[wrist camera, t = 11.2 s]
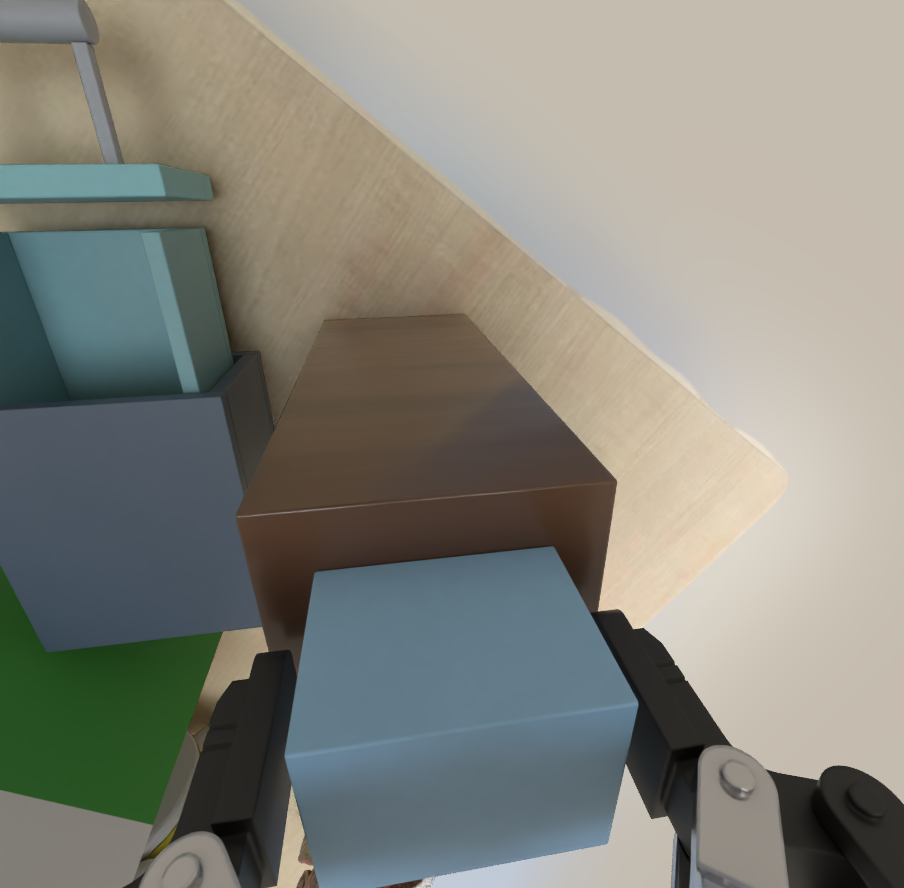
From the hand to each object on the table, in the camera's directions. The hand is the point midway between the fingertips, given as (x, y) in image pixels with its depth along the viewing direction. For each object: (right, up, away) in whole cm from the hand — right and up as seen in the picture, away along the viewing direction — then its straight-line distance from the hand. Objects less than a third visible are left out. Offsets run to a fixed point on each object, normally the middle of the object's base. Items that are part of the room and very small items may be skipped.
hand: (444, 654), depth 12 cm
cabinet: (-18, +4, +21) cm, 28 cm away
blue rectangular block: (0, 0, +1) cm, 1 cm away
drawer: (-18, +16, +14) cm, 28 cm away
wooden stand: (-3, +10, +21) cm, 23 cm away
